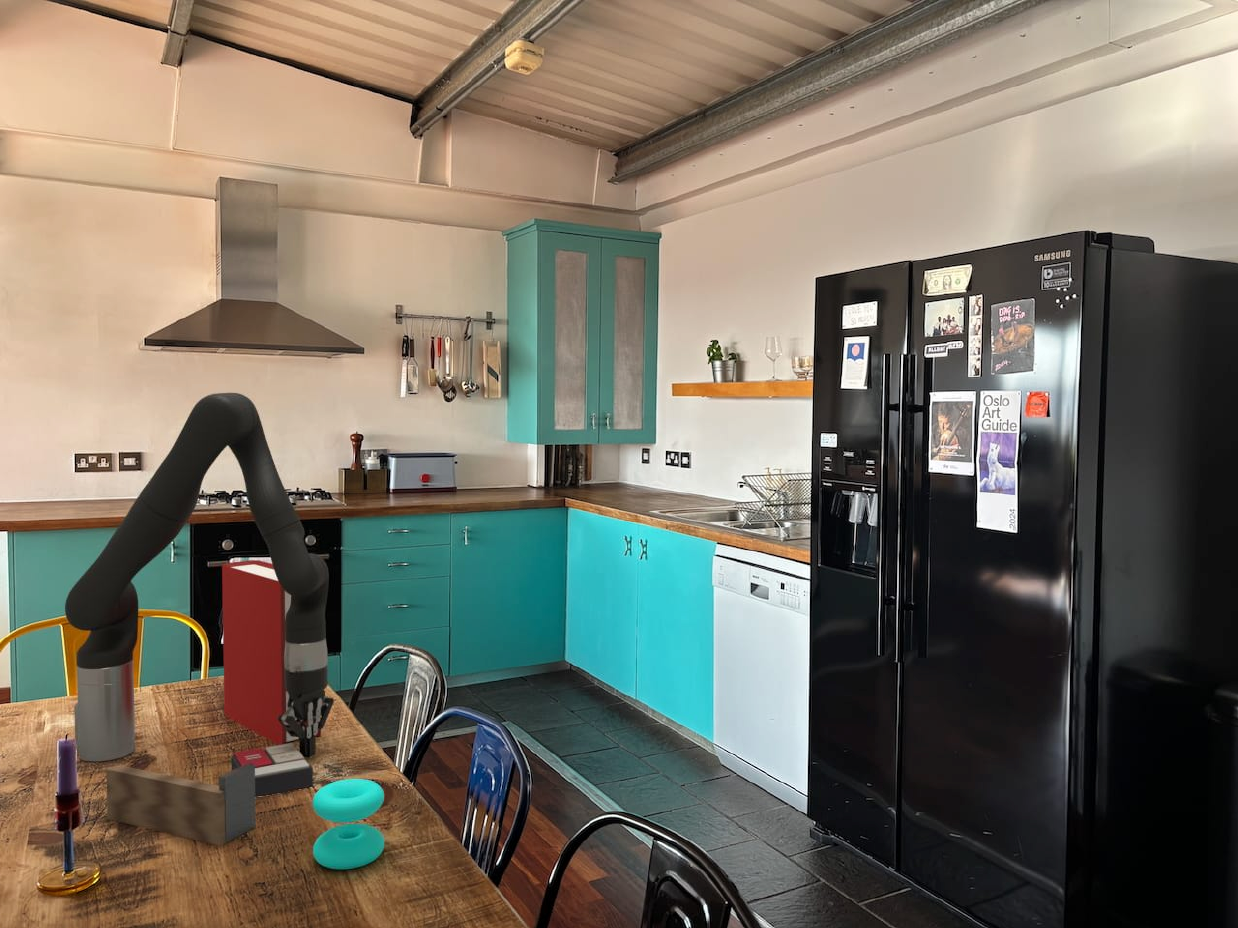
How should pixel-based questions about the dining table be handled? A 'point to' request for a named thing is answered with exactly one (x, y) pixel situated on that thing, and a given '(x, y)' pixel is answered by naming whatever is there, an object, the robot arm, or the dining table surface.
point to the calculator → (276, 769)
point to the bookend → (239, 800)
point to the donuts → (349, 840)
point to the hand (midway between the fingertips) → (307, 755)
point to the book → (255, 648)
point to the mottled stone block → (166, 804)
